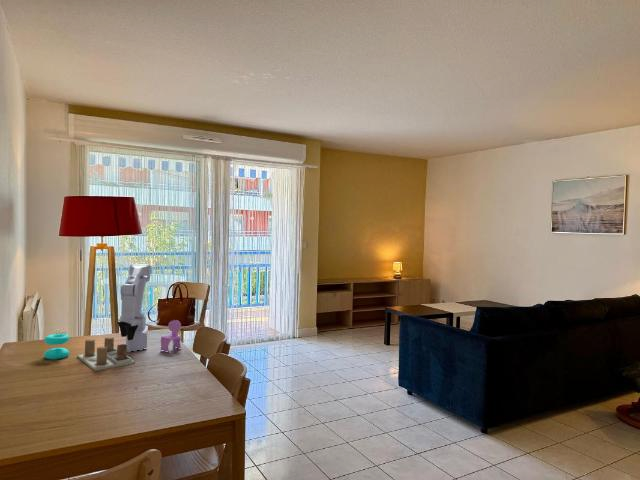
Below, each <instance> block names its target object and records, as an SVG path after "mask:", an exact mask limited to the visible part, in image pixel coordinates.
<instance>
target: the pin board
mask: <svg viewBox="0 0 640 480" xmlns="http://www.w3.org/2000/svg"><path fill="white" fill-rule="evenodd" d="M114 343H115V338H114V337H112V336H109V337H104V343H103V344H104V346H99V347H97V348H96V347H95V346H96V345H95V344H96V339H94V338H92V339H91V338H90V339H86V340H85V341H84V354H83V353H82V354H77V356H76V357H77V359H79V360H80V361H81V362H82V363H83V364H84V363H85V365H87V367H89V368H91V369H92V370H93V371H101V370H106V369H112V368H116V367H117V368H118V367H122V366H123V365H124V366H128V364H129V365H133V363H135V364H136V361H135V360H134V359H133V358H132V357H130V356H128V355H127V359H125V360H120V361H117V348H115V346H114V345H115V344H114ZM95 348H96V352H95Z"/></svg>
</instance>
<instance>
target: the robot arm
mask: <svg viewBox="0 0 640 480" xmlns="http://www.w3.org/2000/svg"><path fill="white" fill-rule="evenodd" d="M128 272H129V276H128V277H127V279H126V281H125V282H124V283H123V284H121V286H120V292H119V293H120V301H121V311H120V312H121V315H120V316H119V319H118V321H117V322H116V323H117V325H118V328H119V331H120V336H121V337H122V338H125V344H126V345H127V353H132V352H131V351H134V352H138V351H137V350H140V351H144V350H143V349H144V348H147V347H148V334H147V331H145V329H146V325H147V324H146V322H147V321H146V320H147V319H146V316H145V315H144V314H143V313H142V307H143V300H144V293H145V287H146V284H147V283H148V282H150V281H151V274H152V265H151V263H147V264H145V263H130V265H129V271H128ZM147 349H148V348H147Z"/></svg>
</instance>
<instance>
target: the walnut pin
mask: <svg viewBox="0 0 640 480" xmlns="http://www.w3.org/2000/svg"><path fill="white" fill-rule="evenodd" d="M116 349H117V361H120V360H125V359H127V356H128V355H127V353H128V352H127V345H126V343H125V344H118V345H117V347H116Z"/></svg>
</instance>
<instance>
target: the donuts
mask: <svg viewBox="0 0 640 480" xmlns="http://www.w3.org/2000/svg"><path fill="white" fill-rule="evenodd" d="M69 341H70V335H69V334H68V333H53V334H49V335H47V336H45V337H44V343H45V344H47V345H52V346H55V345H56V346H57V345H63V344H65V343H68V342H69ZM69 355H70V350H68V348H64V347H54V348H49V349H48V350H46V351H45V352H44V353H43V358H44V359H48V360H61V359H64V358H67V357H68V356H69Z"/></svg>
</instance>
